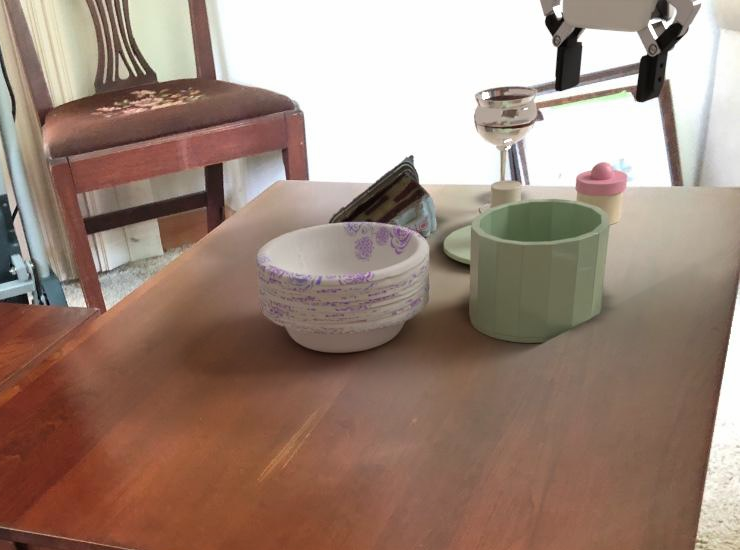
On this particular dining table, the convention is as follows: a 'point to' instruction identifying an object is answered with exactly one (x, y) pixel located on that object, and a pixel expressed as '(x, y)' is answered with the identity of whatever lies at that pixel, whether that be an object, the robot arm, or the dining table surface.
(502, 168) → the wineglass
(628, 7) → the robot arm
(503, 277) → the pot
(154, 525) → the dining table surface
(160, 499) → the dining table surface
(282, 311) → the paper bowls
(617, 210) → the cupcake
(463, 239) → the lid
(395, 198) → the chocolate cake
